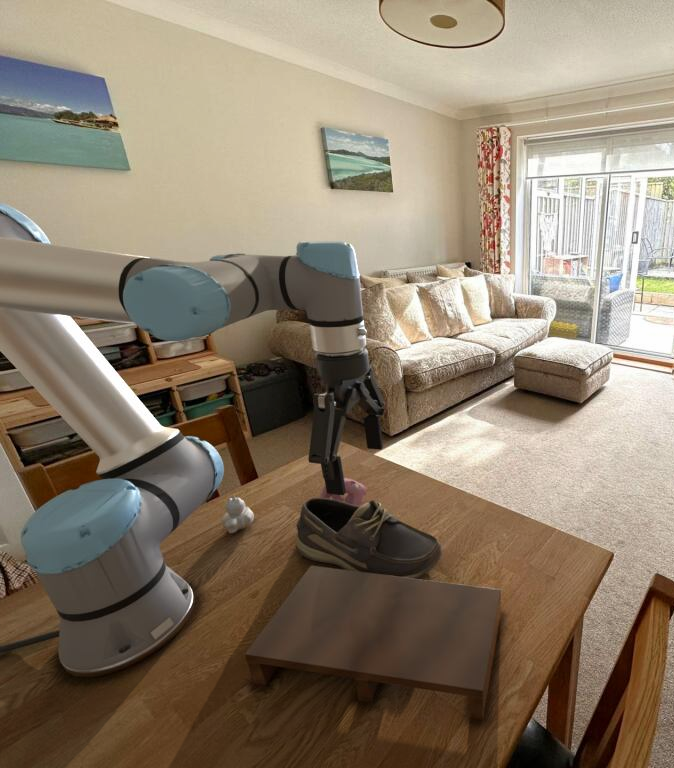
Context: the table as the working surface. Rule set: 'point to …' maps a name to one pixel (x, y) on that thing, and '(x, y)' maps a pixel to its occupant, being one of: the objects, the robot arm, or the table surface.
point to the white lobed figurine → (237, 515)
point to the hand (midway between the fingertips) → (357, 468)
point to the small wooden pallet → (384, 633)
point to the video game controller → (353, 490)
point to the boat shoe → (364, 539)
